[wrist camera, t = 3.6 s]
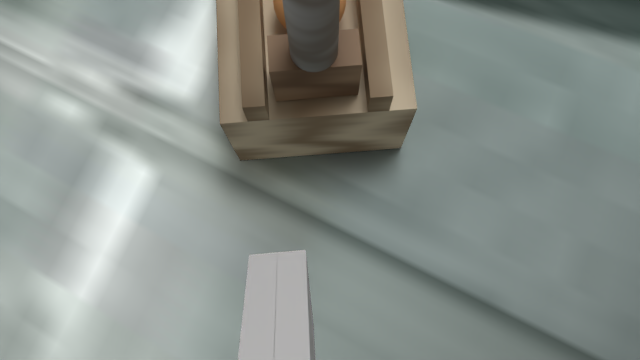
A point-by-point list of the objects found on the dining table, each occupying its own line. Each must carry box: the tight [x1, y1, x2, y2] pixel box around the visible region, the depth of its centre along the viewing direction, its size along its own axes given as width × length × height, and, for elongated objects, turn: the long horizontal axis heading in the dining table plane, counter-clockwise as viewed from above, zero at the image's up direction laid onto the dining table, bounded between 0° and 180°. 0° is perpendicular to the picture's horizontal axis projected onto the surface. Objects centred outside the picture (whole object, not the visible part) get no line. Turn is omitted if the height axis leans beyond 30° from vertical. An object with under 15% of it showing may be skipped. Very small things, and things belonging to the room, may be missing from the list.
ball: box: [273, 0, 346, 28], centre depth 29 cm, size 4×4×4 cm
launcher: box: [216, 0, 417, 161], centre depth 33 cm, size 11×12×9 cm
